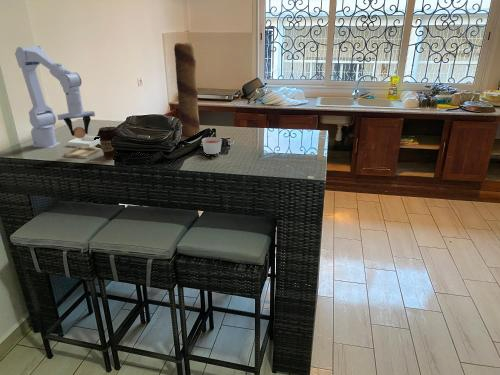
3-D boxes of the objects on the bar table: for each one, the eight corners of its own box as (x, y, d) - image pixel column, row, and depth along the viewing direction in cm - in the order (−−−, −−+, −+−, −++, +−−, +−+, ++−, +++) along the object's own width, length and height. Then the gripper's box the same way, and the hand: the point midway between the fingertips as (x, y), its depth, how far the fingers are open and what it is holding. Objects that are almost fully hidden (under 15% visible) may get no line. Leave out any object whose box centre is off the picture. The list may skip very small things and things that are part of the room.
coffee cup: (115, 161, 166) (111, 131, 161) (97, 159, 167) (92, 130, 162) (125, 154, 174) (121, 126, 168) (108, 153, 175) (104, 124, 170)
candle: (211, 158, 171) (211, 144, 168) (198, 153, 177) (197, 140, 174) (226, 153, 177) (226, 140, 175) (212, 149, 183) (212, 136, 180)
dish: (68, 147, 182) (67, 141, 181) (82, 140, 192) (82, 135, 191) (90, 149, 180) (89, 143, 179) (103, 141, 190) (102, 137, 189)
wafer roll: (175, 134, 204) (169, 42, 185) (189, 130, 212) (184, 41, 193) (189, 137, 198) (185, 44, 180) (203, 133, 206) (200, 43, 188)
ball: (71, 139, 169) (69, 128, 167) (79, 136, 173) (77, 125, 171) (81, 140, 168) (79, 129, 165) (89, 136, 172) (86, 125, 170)
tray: (64, 157, 169) (63, 154, 169) (79, 149, 179) (79, 146, 179) (86, 159, 167) (86, 156, 167) (101, 151, 177) (100, 148, 176)
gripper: (57, 106, 157) (63, 139, 163) (94, 103, 164) (99, 134, 170) (54, 103, 163) (60, 134, 168) (90, 100, 170) (95, 130, 175)
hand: (79, 134), depth 169 cm, fingers closed on ball, 5 cm apart
